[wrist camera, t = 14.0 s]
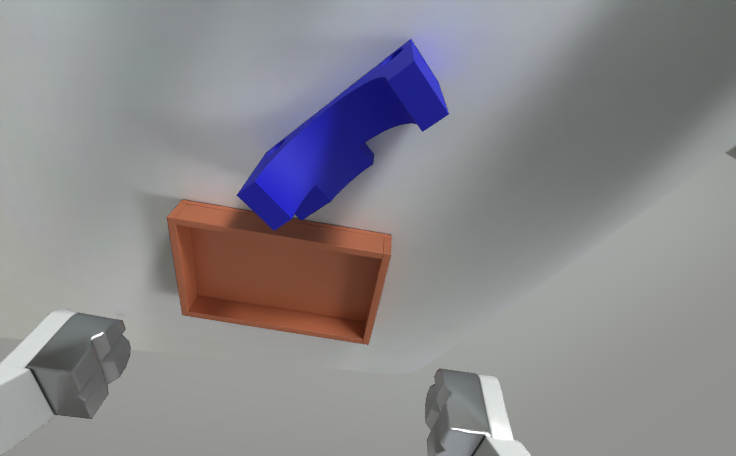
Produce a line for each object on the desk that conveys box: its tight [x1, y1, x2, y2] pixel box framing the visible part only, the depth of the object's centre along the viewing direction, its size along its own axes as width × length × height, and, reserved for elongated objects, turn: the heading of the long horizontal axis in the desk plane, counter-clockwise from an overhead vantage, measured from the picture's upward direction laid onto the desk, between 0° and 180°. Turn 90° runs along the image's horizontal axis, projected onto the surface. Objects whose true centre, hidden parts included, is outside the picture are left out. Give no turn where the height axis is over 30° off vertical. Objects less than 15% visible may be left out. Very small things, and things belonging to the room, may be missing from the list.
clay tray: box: [167, 200, 392, 345], centre depth 32 cm, size 16×10×2 cm, turn 81°
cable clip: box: [237, 39, 449, 231], centre depth 23 cm, size 12×4×6 cm, turn 127°
